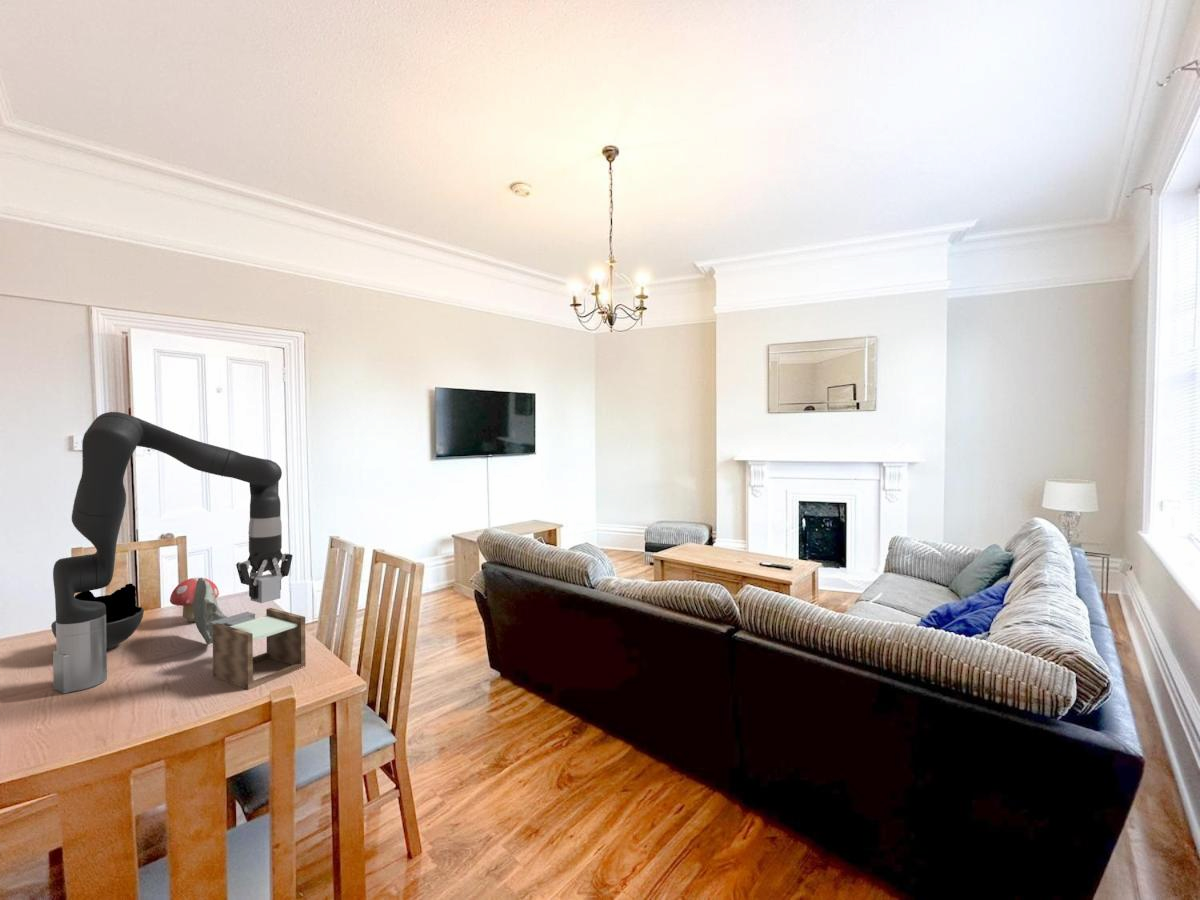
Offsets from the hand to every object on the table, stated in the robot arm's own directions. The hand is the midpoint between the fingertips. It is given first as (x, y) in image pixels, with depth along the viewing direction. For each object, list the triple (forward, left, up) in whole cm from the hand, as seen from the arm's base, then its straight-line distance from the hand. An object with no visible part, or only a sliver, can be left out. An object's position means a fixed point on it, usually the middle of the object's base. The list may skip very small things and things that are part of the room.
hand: (265, 595), depth 143 cm
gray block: (0, 0, -1) cm, 1 cm away
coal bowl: (-14, +59, -22) cm, 64 cm away
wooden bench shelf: (0, +3, -21) cm, 22 cm away
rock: (+3, +35, -22) cm, 41 cm away
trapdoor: (0, +7, -13) cm, 15 cm away
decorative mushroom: (+12, +61, -22) cm, 66 cm away
